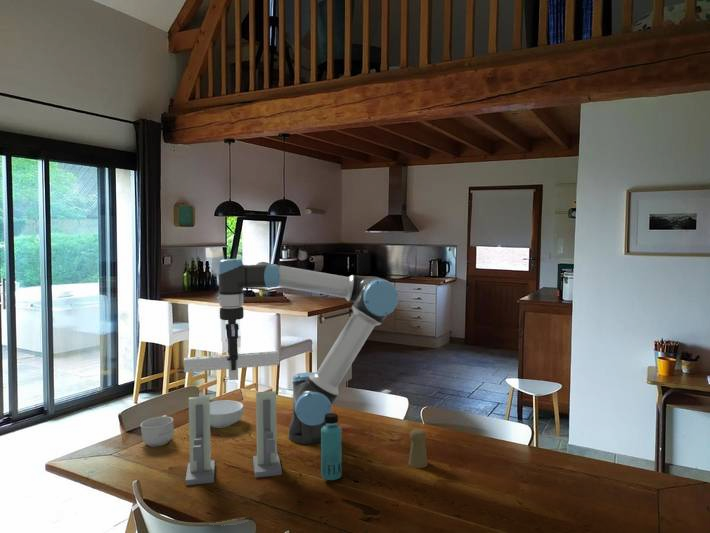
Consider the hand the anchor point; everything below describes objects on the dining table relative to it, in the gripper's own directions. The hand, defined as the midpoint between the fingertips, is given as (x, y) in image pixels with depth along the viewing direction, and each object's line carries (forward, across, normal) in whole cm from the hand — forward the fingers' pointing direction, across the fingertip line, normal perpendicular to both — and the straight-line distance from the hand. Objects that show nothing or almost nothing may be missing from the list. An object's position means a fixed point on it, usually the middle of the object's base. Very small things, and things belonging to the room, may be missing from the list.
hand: (233, 377), depth 171 cm
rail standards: (+26, +16, -1) cm, 31 cm away
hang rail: (-3, 0, 0) cm, 3 cm away
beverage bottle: (+27, +25, +26) cm, 45 cm away
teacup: (+26, -20, -25) cm, 41 cm away
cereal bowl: (+27, -31, -3) cm, 41 cm away
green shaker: (+27, +22, +56) cm, 66 cm away
